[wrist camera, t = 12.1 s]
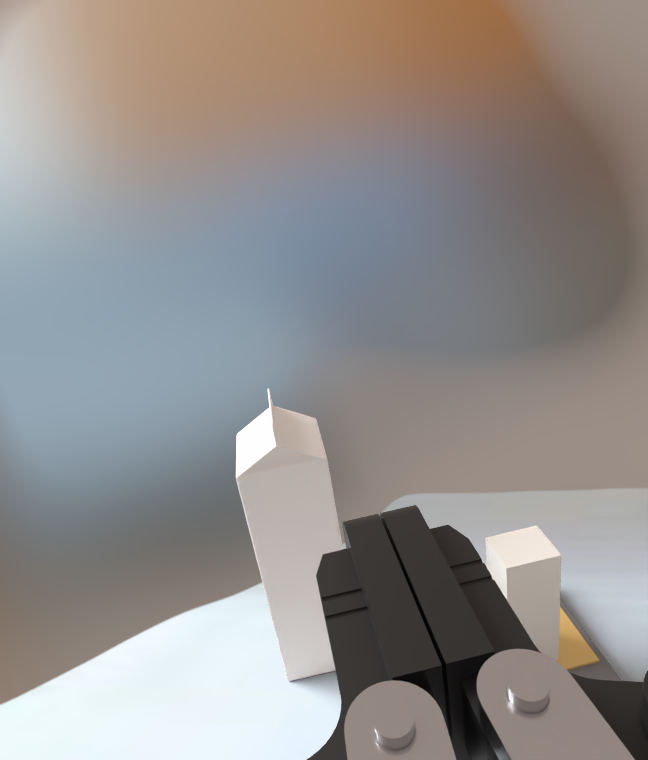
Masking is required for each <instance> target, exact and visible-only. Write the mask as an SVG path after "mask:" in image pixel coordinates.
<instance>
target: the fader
mask: <svg viewBox="0 0 648 760" xmlns="http://www.w3.org/2000/svg"><path fill="white" fill-rule="evenodd" d="M486 557H487V569H488V571H489V572H490V574H491V575H492V579H493V580H495V582H496V583H497V585H498V587H499V588H500V590H501V591H502V593H503V595H504V596H505V598H506V599H507V601H508V603H509V604H510V606H511V608H512V609H513V611H514V612H515V614H516V616H517V617H518V619H519V620H520V622H521V624H522V625H523V627H524V628H525V630H526V632H527V633H528V635H529V637H530V638H531V640H532V641H533V643H534V644H535V646H536V647H537V648H538V650H539V651H540V652H541V653H542V654H545V655H547V656H549V657H551V658H552V659H554V660H559V624H560V584H561V554H560V553H559V552H558V551H557V549H556V548H555V547H554V546H553V545H552V543H551V542H550V541H549V540H548V539H547V537H546V536H545V535H544V534H543V532H542V531H541V530H540V529H539V528H538V526H532V527H528V528H524V529H520V530H516V531H511V532H507V533H503V534H499V535H494V536H490V537H486Z"/></svg>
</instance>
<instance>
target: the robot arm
mask: <svg viewBox="0 0 648 760" xmlns="http://www.w3.org/2000/svg"><path fill="white" fill-rule="evenodd" d="M342 524H343V532H344V537H345V543H346V549H343V550H339V551H335V552H330V553H326V554H323V555H322V558H321V561H320V564H319V568H318V571H317V574H316V578H317V583H318V588H319V593H320V598H321V603H322V608H323V612H324V617H325V622H326V627H327V632H328V637H329V642H330V646H331V651H332V656H333V661H334V666H335V670H336V675H337V680H338V685H339V690H340V694H341V701H342V702H341V713H340V718H339V721H338V724H337V726H336V729H335V730H334V732H333V734H332V736H331V737H330V739H329V740H328V741H327V743H326V744H325V745H324V746H323V747H322V748H321V749H320V750H319V751H318V752H317V753H315V754H314V755H313V756H311V757H310V758H308V759H307V760H648V671H647V673H646V675H645V678H644V682H629V681H612V680H598V679H590V678H586V677H581V676H578V675H575V674H573V673H570V672H568V671H567V670H566V669H565V668H564V667H563V666H562V665H561V664H560V663H558V662H557V661H555V660H554V659H552V658H551V657H549V656H547V655H545V654H542V653H541V652H540V651H539V650H538V648H537V647H536V646H535V644H534V643H533V641H532V640H531V638H530V637H529V635H528V633H527V632H526V630H525V628H524V627H523V625H522V624H521V622H520V620H519V619H518V617H517V616H516V614H515V612H514V611H513V609H512V608H511V606H510V604H509V603H508V601H507V599H506V598H505V596H504V595H503V593H502V591H501V590H500V588H499V587H498V585H497V583H496V582H495V580H493V579H492V575H491V574H490V572H489V571H488V569H487V567H486V566H485V564H484V563H482V560H481V558H480V556H479V554H478V553H477V551H476V550H475V548H474V546H473V545H472V543H471V542H470V540H469V539H468V538H467V537H465V536H464V535H462V534H461V533H459V532H458V531H457V530H455V529H454V528H452V527H451V526H449V525H445V526H441V527H437V528H432V529H429V527H428V525H427V523H426V522H425V520H424V518H423V516H422V514H421V512H420V510H419V509H418V507H417V506H416V505H414V506H410V507H405V508H401V509H396V510H392V511H388V512H383V513H380V516H379V515H378V514H375V515H371V516H367V517H362V518H358V519H354V520H349V521H345V522H343V523H342Z"/></svg>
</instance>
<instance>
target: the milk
mask: <svg viewBox="0 0 648 760" xmlns="http://www.w3.org/2000/svg"><path fill="white" fill-rule="evenodd" d="M268 398H269V408H268V409H267V410H266V411H265V412H263V413H262V414H261V415H260V416H259V417H257V418H256V419H255V420H253V421H252V422H251V423H250V424H249V425H247V426H246V427H245V428H244V429H243V430H241V431H240V432H239V433H238V434H237V447H236V448H237V449H236V480H237V484H238V488H239V492H240V496H241V500H242V504H243V508H244V512H245V516H246V519H247V523H248V527H249V531H250V535H251V539H252V543H253V547H254V551H255V555H256V559H257V563H258V566H259V570H260V574H261V578H262V582H263V586H264V590H265V594H266V598H267V602H268V606H269V609H270V613H271V617H272V621H273V625H274V629H275V633H276V637H277V641H278V645H279V649H280V653H281V656H282V660H283V664H284V668H285V672H286V676H287V680H288V681H292V680H296V679H301V678H305V677H310V676H314V675H318V674H323V673H327V672H331V671H336V670H335V666H334V661H333V656H332V651H331V646H330V642H329V637H328V632H327V627H326V622H325V617H324V612H323V608H322V603H321V598H320V593H319V588H318V583H317V578H316V574H317V571H318V568H319V564H320V561H321V558H322V555H323V554H326V553H330V552H335V551H339V550H343V547H342V541H341V536H340V530H339V525H338V518H337V512H336V507H335V501H334V496H333V490H332V484H331V478H330V472H329V467H328V461H327V457H326V453H325V450H324V446H323V442H322V439H321V435H320V431H319V428H318V424H317V420H316V419H315V418H312V417H309V416H306V415H302V414H299V413H296V412H293V411H289V410H286V409H283V408H279V407H276V406H273V403H272V400H271V394H270V390H269V389H268Z"/></svg>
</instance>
